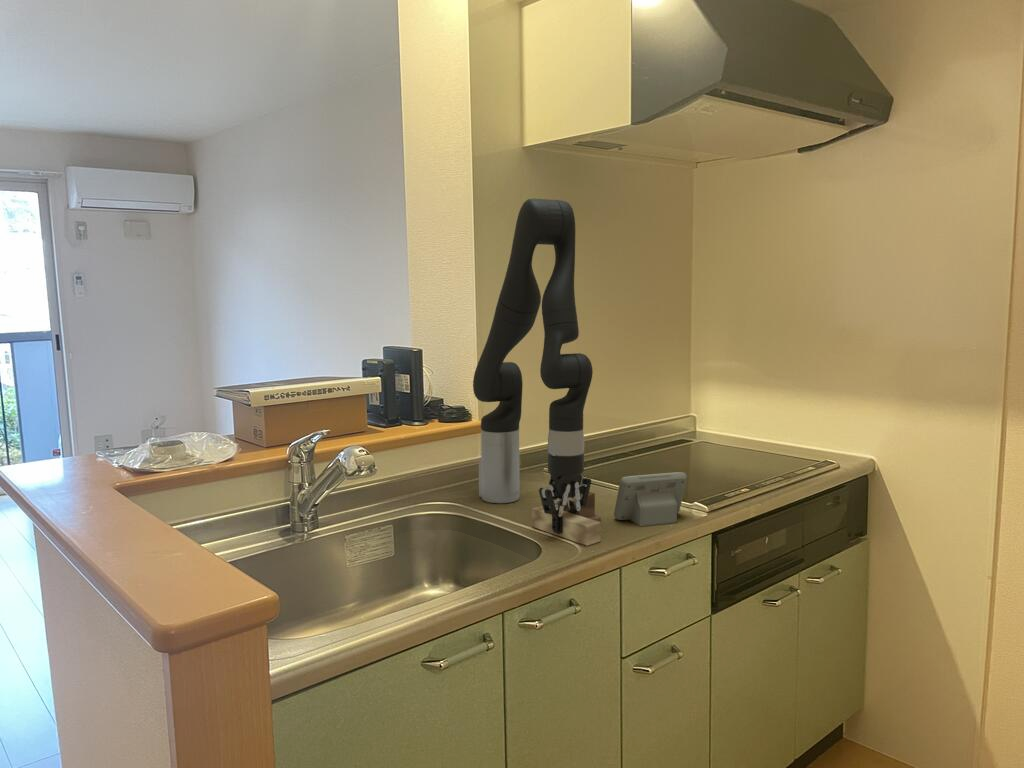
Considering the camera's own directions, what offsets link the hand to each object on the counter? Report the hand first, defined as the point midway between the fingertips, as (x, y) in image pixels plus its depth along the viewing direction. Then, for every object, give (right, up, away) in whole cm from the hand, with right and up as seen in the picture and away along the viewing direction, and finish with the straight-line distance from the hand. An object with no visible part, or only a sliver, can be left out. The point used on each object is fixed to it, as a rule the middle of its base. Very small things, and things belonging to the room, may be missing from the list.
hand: (565, 529), depth 163 cm
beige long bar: (0, -1, 0) cm, 1 cm away
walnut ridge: (+3, 0, +8) cm, 9 cm away
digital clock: (+20, 0, +10) cm, 22 cm away
